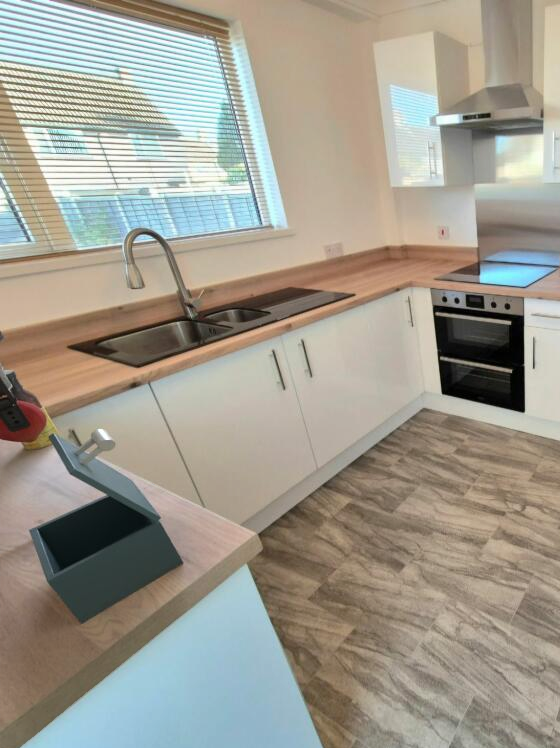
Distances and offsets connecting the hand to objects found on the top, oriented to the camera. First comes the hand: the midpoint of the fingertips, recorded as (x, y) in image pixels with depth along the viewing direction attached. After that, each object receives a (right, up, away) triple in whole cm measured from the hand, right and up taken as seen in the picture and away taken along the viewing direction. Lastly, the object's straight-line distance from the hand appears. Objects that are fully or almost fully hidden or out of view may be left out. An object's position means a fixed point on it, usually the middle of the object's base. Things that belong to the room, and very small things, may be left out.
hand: (17, 422), depth 64 cm
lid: (+13, -9, 0) cm, 15 cm away
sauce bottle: (-36, -10, +38) cm, 53 cm away
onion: (0, -3, +2) cm, 4 cm away
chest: (+12, -24, +4) cm, 27 cm away
